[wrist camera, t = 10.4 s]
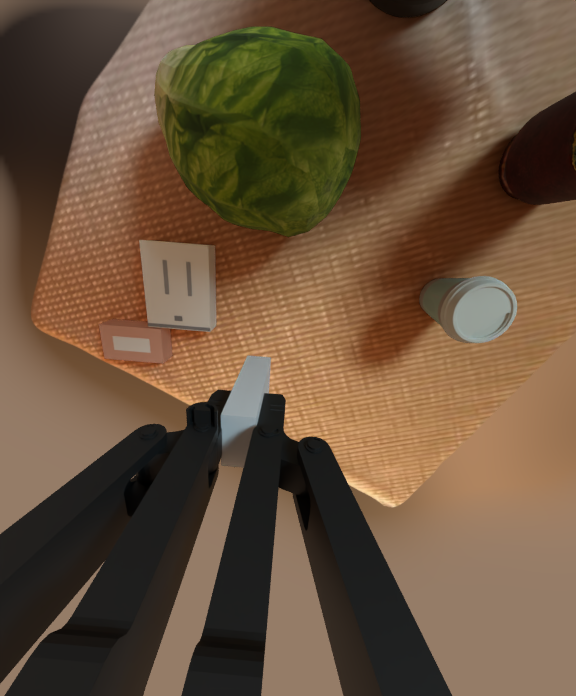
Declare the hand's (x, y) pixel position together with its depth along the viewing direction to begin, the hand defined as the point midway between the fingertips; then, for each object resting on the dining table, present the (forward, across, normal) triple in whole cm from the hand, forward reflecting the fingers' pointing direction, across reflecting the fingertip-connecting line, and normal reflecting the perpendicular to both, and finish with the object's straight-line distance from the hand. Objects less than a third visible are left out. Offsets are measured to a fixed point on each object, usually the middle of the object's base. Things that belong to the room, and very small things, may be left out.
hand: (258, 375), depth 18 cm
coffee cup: (+30, +25, +2) cm, 39 cm away
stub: (+29, -24, -9) cm, 39 cm away
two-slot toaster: (+29, -16, +1) cm, 33 cm away
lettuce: (+30, -4, +19) cm, 35 cm away
